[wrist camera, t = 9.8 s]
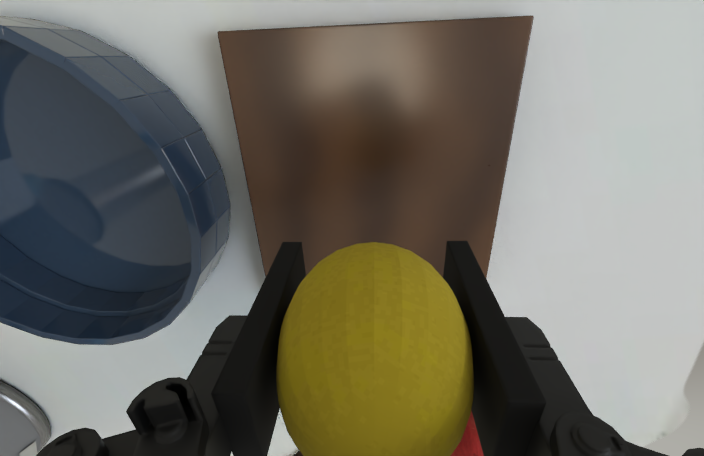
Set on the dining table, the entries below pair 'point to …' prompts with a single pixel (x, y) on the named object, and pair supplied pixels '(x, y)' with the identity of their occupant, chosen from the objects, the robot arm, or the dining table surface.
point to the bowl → (99, 191)
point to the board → (377, 132)
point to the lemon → (375, 357)
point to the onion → (469, 441)
